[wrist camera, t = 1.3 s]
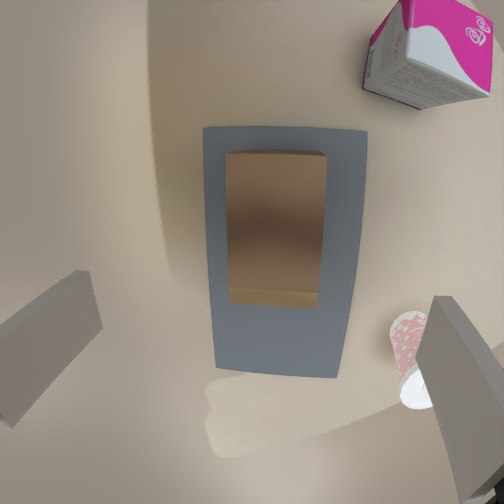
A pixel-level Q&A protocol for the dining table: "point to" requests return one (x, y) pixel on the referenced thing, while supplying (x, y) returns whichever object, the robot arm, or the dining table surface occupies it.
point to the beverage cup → (409, 358)
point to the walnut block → (275, 226)
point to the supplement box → (431, 54)
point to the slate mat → (332, 260)
